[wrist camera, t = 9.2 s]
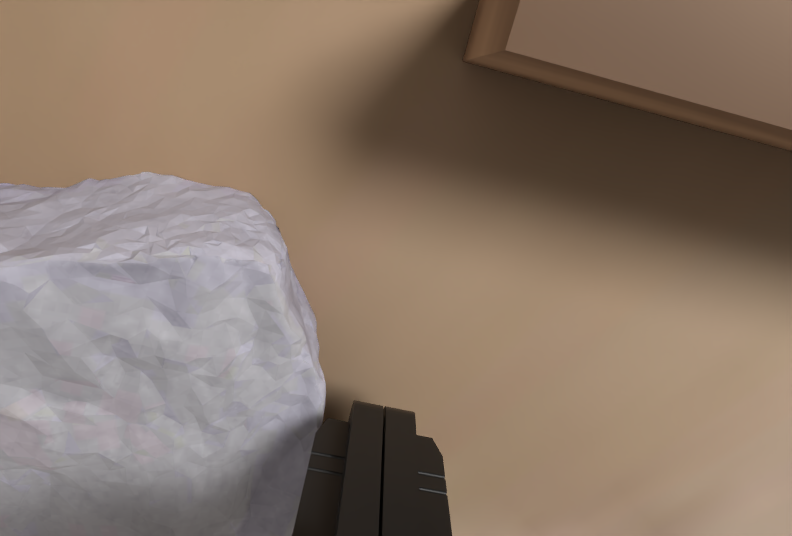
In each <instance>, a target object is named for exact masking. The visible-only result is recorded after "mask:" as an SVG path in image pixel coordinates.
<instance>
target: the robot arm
mask: <svg viewBox="0 0 792 536" xmlns="http://www.w3.org/2000/svg"><path fill="white" fill-rule="evenodd" d="M444 477H445V473H444V465H443V456H442V455H441V453H440V451H439V449H438V448H437V446H436V444H435V442H434V441H433V439H432V438H429V437H424V436H418V435H416V422H415V413H414V412H411V411H406V410H401V409H396V408H391V407H386V406H385V407H384V409H383V406H380V405H375V404H370V403H365V402H360V401H355V400H354V401H353V405H352V408H351V412H350V416H349V420H348V422H345V421H340V420H335V419H330V418H328V419H327V420H326V421H325V422H324V423H323V425H322V426H321V427H320V428H319V429H318V430H317V431H316V433H315V438H314V442H313V446H312V451H311V455H310V459H309V464H308V468H307V473H306V477H305V481H304V486H303V490H302V494H301V499H300V503H299V507H298V512H297V516H296V520H295V525H294V529H293V533H292V536H452V531H451V522H450V514H449V506H448V498H447V496H446V493H447V489H446V481H445V479H444Z"/></svg>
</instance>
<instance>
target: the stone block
mask: <svg viewBox="0 0 792 536" xmlns="http://www.w3.org/2000/svg"><path fill="white" fill-rule="evenodd" d="M318 355H319V343H318V339H317V334H316V318H315V315H314V313H313V311H312V309H311V307H310V304H309V302H308V300H307V298H306V296H305V294H304V291H303V289H302V288H301V286H300V284H299V282H298V280H297V278H296V276H295V274H294V271H293V269H292V267H291V264H290V260H289V255H288V250H287V247H286V245H285V243H284V241H283V239H282V236H281V234H280V231H279V228H278V227H277V226H276V221H275V219H274V218H273V217H272V215H271V214H270V213H269V211H267V210H265V209H263V208H262V206H261V205H260V203H259V202H258V200H257V199H256V198H255V197H254V196H252V195H251V194H250V193H247V192H243V191H239V190H236V189H233V188H230V187H219V186H210V185H206V184H202V183H197V182H193V181H189V180H185V179H182V178H179V177H176V176H173V175H160V174H156V173H151V172H142V173H140V174H137V175H130V176H123V177H119V178H114V179H105V180H100V181H98V180H95V179H86V180H84V181H82V182H80V183H77V184H75V185H73V186H70V187H67V188H53V187H44V188H39V187H34V186H30V185H25V184H20V185H13V184H9V183H0V536H292V533H293V529H294V525H295V520H296V516H297V512H298V507H299V503H300V499H301V494H302V490H303V486H304V481H305V477H306V473H307V468H308V464H309V459H310V455H311V451H312V446H313V442H314V438H315V433H316V431H317V430H318V429H319V428H320V427H321V426H322V422H323V416H324V407H325V397H326V385H325V379H324V375H323V372H322V369H321V366H320V363H319V360H318Z"/></svg>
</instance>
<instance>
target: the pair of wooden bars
mask: <svg viewBox="0 0 792 536" xmlns="http://www.w3.org/2000/svg"><path fill="white" fill-rule="evenodd" d="M463 61H464V62H467V63H471V64H475V65H478V66H482V67H486V68H489V69H493V70H497V71H500V72H504V73H508V74H511V75H515V76H519V77H522V78H526V79H530V80H533V81H537V82H541V83H544V84H548V85H552V86H555V87H559V88H562V89H566V90H570V91H573V92H577V93H581V94H584V95H588V96H592V97H595V98H599V99H603V100H606V101H610V102H614V103H617V104H621V105H625V106H628V107H632V108H636V109H639V110H643V111H646V112H650V113H654V114H657V115H661V116H665V117H668V118H672V119H676V120H679V121H683V122H687V123H690V124H694V125H698V126H701V127H705V128H709V129H712V130H716V131H720V132H723V133H727V134H730V135H734V136H738V137H741V138H745V139H749V140H752V141H756V142H760V143H763V144H767V145H771V146H774V147H778V148H782V149H785V150H789V151H792V0H479V4H478V7H477V11H476V14H475V18H474V22H473V25H472V29H471V33H470V36H469V40H468V43H467V47H466V51H465V54H464V58H463Z"/></svg>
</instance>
